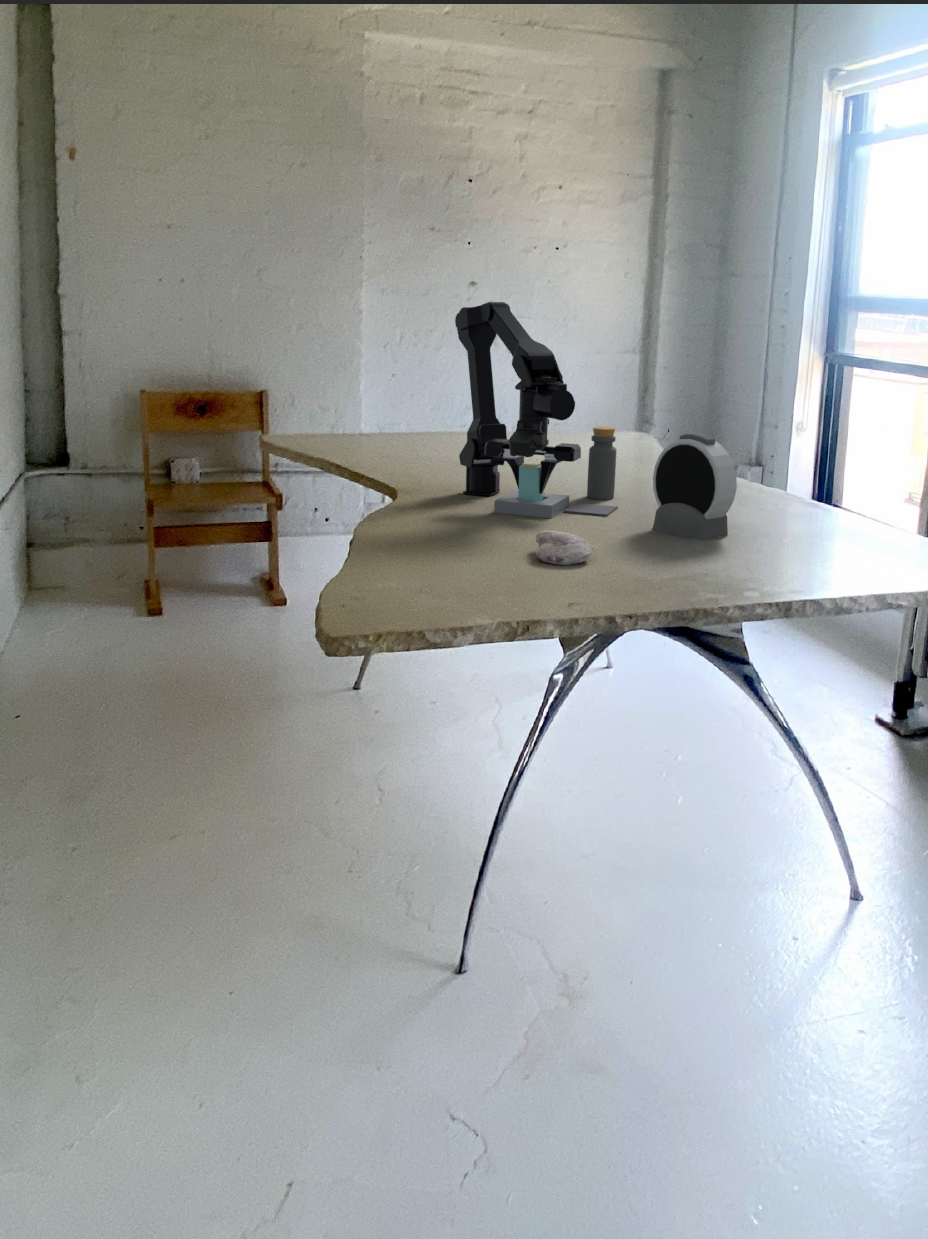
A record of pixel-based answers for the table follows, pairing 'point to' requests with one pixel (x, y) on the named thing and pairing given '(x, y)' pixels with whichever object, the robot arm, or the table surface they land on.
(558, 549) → the fossil
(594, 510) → the pad
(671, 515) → the alarm clock
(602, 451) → the bottle
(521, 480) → the plug
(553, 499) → the grey square socket block
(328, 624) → the table surface
